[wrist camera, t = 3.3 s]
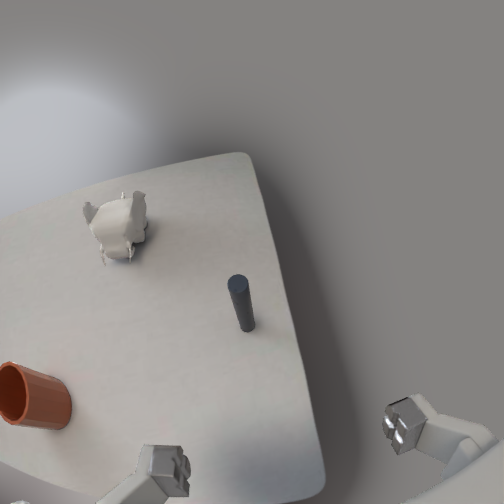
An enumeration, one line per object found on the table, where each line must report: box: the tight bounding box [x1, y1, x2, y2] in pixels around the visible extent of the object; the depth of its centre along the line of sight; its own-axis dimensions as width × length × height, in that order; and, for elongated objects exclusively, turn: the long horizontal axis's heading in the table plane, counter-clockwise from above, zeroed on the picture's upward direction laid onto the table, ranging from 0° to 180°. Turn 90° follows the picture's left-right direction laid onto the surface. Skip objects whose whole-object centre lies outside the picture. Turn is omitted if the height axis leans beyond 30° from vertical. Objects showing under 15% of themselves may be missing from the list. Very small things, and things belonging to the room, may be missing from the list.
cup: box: [0, 361, 72, 430], centre depth 24 cm, size 8×8×9 cm
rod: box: [227, 274, 255, 332], centre depth 29 cm, size 2×2×12 cm
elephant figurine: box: [83, 191, 147, 265], centre depth 38 cm, size 10×12×9 cm
